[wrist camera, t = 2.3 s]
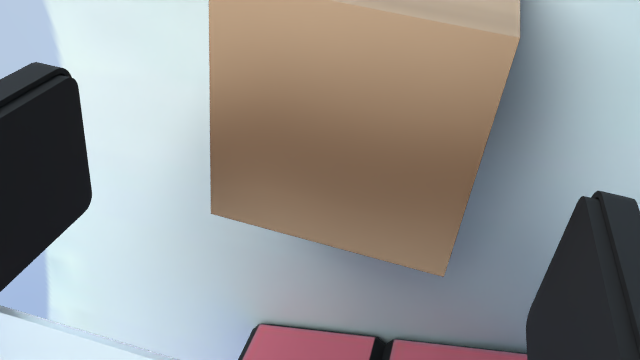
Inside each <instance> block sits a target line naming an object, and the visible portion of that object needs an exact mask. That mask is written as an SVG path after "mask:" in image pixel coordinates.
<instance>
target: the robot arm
mask: <svg viewBox="0 0 640 360" xmlns="http://www.w3.org/2000/svg"><path fill="white" fill-rule="evenodd" d="M91 198H92V190H91V182H90V174H89V167H88V159H87V151H86V143H85V136H84V128H83V120H82V112H81V104H80V97H79V89H78V84H77V82H76V80H75V79H73V78H71V75H70V73H69V72H68V71H67V70H66V69H64V68H60V67H55V66H51V65H47V64H42V63H37V62H35V63H31V64H29V65H27V66H25V67H23V68H22V69H20V70H18V71H16V72H14V73H12V74H10V75H8V76H6V77H4V78H2V79H0V292H1V291H2V290H3V289H4V288H5V287H6V286H7V285H8V284H9V283H10V282H11V281H12V280H13V279H14V278H15V277H16V276H17V275H19V273H21V272H22V271H23V270H24V269H25V268H26V267H27V266H28V265H29V264H30V263H31V262H32V261H33V260H34V259H35V258H36V257H38V256H39V255H40V253H42V252H43V251H44V250H45V249H46V248H47V247H48V246H49V245H50V244H51V243H52V242H53V241H55V240H56V239H57V238H58V237H59V236H60V235H61V234H62V233H63V232H64V231H65V230H66V229H67V228H68V227H69V226H70V225H71V224H73V223H74V222H75V221H76V220H77V219H78V218H79V217H80V216H81V215H82V214H83V213H84V212H85V211H86V210H87V209H88V207H89V205H90V202H91ZM526 341H527V360H640V211H639V208H638V205H637V202H636V201H635V199H632V198H628V197H623V196H619V195H615V194H610V193H606V192H602V191H597V192H595V193H594V194H593V196H592V197H591V198H589V197H585V196H582V197H581V198H580V199H579V201H578V202H577V204H576V207H575V209H574V211H573V213H572V216H571V218H570V220H569V222H568V225H567V227H566V229H565V231H564V234H563V236H562V238H561V240H560V243H559V245H558V247H557V249H556V252H555V254H554V256H553V258H552V261H551V263H550V265H549V267H548V270H547V272H546V274H545V276H544V279H543V281H542V283H541V285H540V288H539V290H538V292H537V294H536V297H535V299H534V301H533V303H532V306H531V308H530V311H529V314H528V318H527V323H526ZM0 360H178V359H175V358H171V357H168V356H165V355H162V354H158V353H155V352H152V351H149V350H145V349H142V348H139V347H136V346H132V345H129V344H126V343H122V342H119V341H116V340H113V339H109V338H106V337H103V336H99V335H96V334H93V333H90V332H86V331H83V330H80V329H76V328H73V327H70V326H67V325H63V324H60V323H57V322H53V321H50V320H47V319H44V318H40V317H37V316H34V315H30V314H27V313H23V312H20V311H17V310H14V309H10V308H7V307H4V306H0Z"/></svg>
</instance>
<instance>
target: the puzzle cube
mask: <svg viewBox="0 0 640 360" xmlns="http://www.w3.org/2000/svg"><path fill="white" fill-rule="evenodd" d="M238 360H527V354H525V353H516V352H507V351H498V350H489V349H480V348H471V347H463V346H454V345H445V344H436V343H427V342H418V341H409V340H401V339H394V340H392V341H390V342H389V343H387V344H386V345H385V344H384V343H383V342H382V341H381V340H380V339H379V338H378V337H374V336H365V335H356V334H347V333H339V332H330V331H321V330H312V329H303V328H294V327H285V326H276V325H268V324H259V325H258V326H256V327H255V328H254V329H253V330H252V332H251V334H250V337H249V339H248V341H247V343H246V345H245V347H244V349H243V351H242V353H241V355H240V357H239V359H238Z"/></svg>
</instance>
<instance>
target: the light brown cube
mask: <svg viewBox="0 0 640 360" xmlns="http://www.w3.org/2000/svg"><path fill="white" fill-rule="evenodd" d="M519 40H520V0H209V65H210V168H211V214H214V215H218V216H221V217H225V218H229V219H232V220H236V221H240V222H243V223H247V224H251V225H255V226H258V227H262V228H266V229H269V230H273V231H277V232H280V233H284V234H288V235H291V236H295V237H299V238H302V239H306V240H310V241H313V242H317V243H321V244H324V245H328V246H332V247H335V248H339V249H343V250H346V251H350V252H354V253H357V254H361V255H365V256H368V257H372V258H376V259H379V260H383V261H387V262H391V263H394V264H398V265H402V266H405V267H409V268H413V269H416V270H420V271H424V272H427V273H431V274H435V275H438V276H442V277H444V275H445V271H446V268H447V265H448V262H449V259H450V256H451V253H452V249H453V246H454V243H455V240H456V237H457V234H458V231H459V228H460V224H461V221H462V218H463V215H464V212H465V209H466V206H467V203H468V199H469V196H470V193H471V190H472V187H473V184H474V181H475V177H476V174H477V171H478V168H479V165H480V162H481V159H482V156H483V152H484V149H485V146H486V143H487V140H488V137H489V134H490V131H491V127H492V124H493V121H494V118H495V115H496V112H497V109H498V105H499V102H500V99H501V96H502V93H503V90H504V87H505V84H506V80H507V77H508V74H509V71H510V68H511V65H512V62H513V59H514V55H515V52H516V49H517V46H518V43H519Z"/></svg>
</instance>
